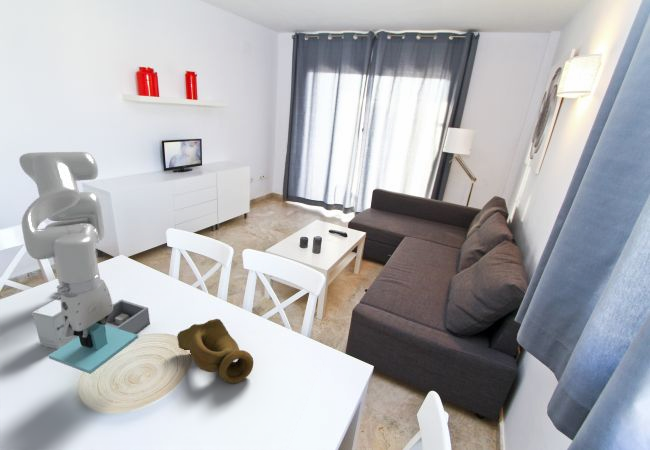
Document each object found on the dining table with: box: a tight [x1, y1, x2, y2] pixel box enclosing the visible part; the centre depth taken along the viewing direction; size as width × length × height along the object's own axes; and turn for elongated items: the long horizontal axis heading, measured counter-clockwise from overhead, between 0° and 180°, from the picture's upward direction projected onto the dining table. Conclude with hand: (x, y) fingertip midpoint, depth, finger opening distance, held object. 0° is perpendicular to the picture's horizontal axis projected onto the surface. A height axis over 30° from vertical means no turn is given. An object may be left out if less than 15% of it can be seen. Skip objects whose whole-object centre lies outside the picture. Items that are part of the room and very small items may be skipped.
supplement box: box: [31, 299, 78, 350], centre depth 99 cm, size 7×7×13 cm
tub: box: [105, 299, 151, 335], centre depth 107 cm, size 12×12×7 cm
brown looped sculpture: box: [176, 318, 254, 384], centre depth 97 cm, size 18×13×22 cm
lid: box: [47, 323, 139, 375], centre depth 83 cm, size 14×14×8 cm
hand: (94, 341), depth 84 cm, fingers closed on lid, 3 cm apart
